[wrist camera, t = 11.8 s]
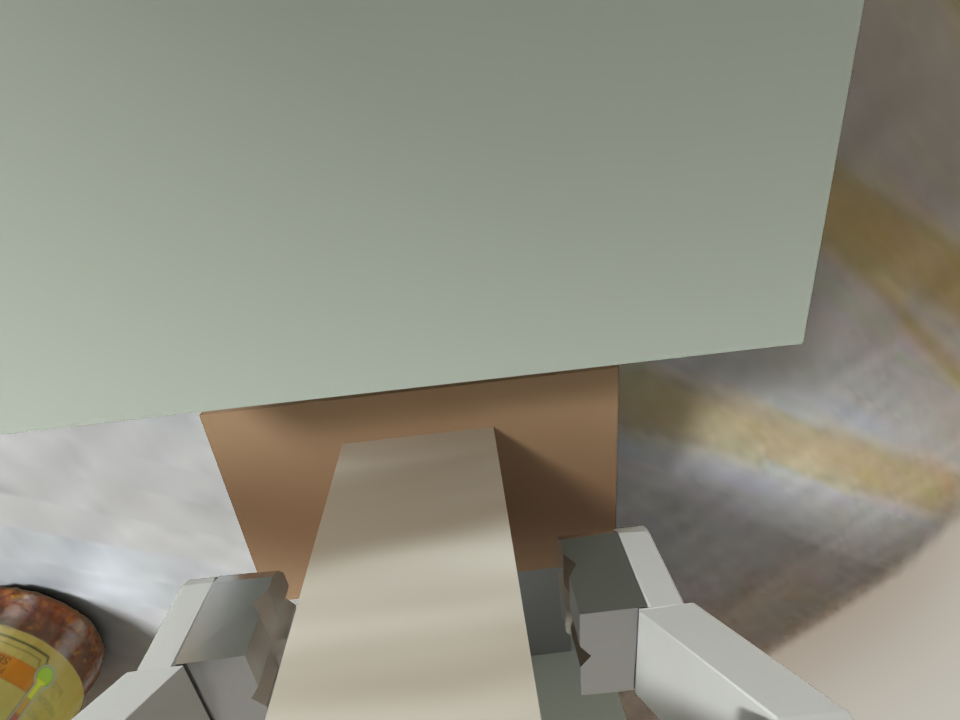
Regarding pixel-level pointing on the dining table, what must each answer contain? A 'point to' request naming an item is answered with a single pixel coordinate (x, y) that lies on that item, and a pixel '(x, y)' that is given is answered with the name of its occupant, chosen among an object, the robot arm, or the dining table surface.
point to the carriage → (417, 534)
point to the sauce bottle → (44, 656)
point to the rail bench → (403, 202)
